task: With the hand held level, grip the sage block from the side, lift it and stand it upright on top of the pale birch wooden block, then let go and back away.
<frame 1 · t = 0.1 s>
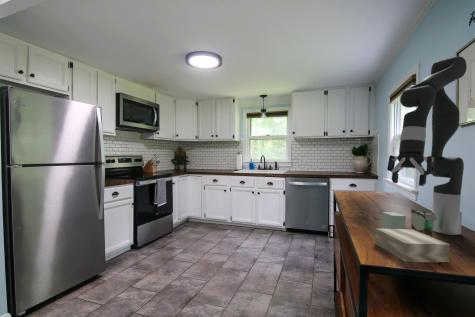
hand: (407, 184, 90), 22 cm above the table, tool pointing down, fingers open, 8 cm apart
birch block: (408, 253, 83), on the table
sage block: (392, 237, 98), on the table
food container: (425, 236, 102), on the table
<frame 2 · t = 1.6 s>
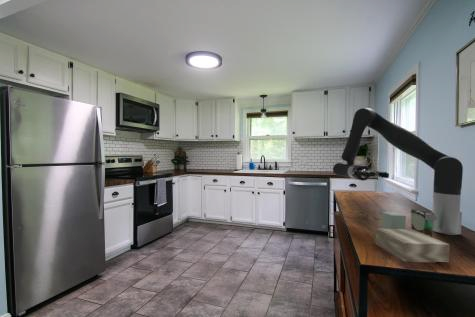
hand: (378, 175, 109), 24 cm above the table, tool horizontal, fingers open, 8 cm apart
nothing on the table moved.
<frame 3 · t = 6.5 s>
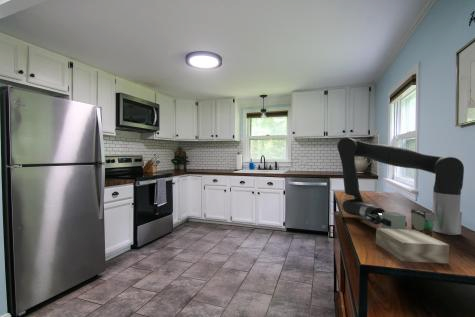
hand: (398, 224, 96), 6 cm above the table, tool horizontal, fingers closed on sage block, 5 cm apart
sage block: (392, 237, 98), on the table, touching gripper
everything else where it was.
when the fingers open (12 cm above the table, at t = 12.9 s): sage block stays where it is, point 6 cm above the table.
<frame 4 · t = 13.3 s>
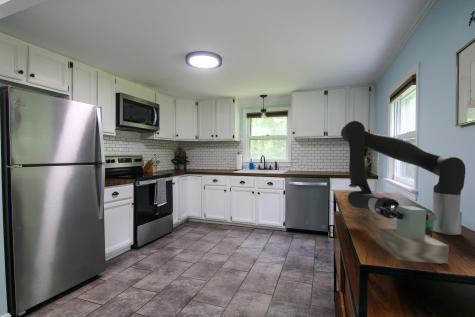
hand: (414, 216, 81), 13 cm above the table, tool horizontal, fingers open, 8 cm apart
sage block: (409, 235, 83), point 6 cm above the table
everything else where it was.
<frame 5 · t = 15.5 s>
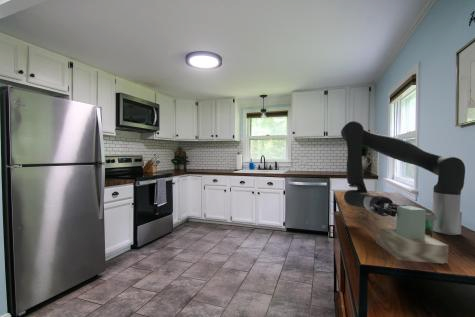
hand: (407, 214, 84), 12 cm above the table, tool horizontal, fingers open, 8 cm apart
birch block: (408, 253, 83), on the table, touching sage block
sage block: (409, 235, 83), point 6 cm above the table, touching birch block
everything else where it was.
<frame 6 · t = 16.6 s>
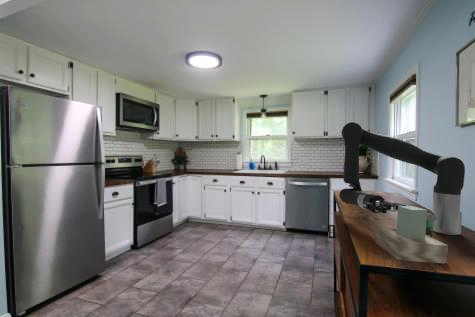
hand: (397, 211, 89), 12 cm above the table, tool horizontal, fingers open, 8 cm apart
birch block: (407, 253, 83), on the table
sage block: (410, 236, 83), point 6 cm above the table
everything else where it was.
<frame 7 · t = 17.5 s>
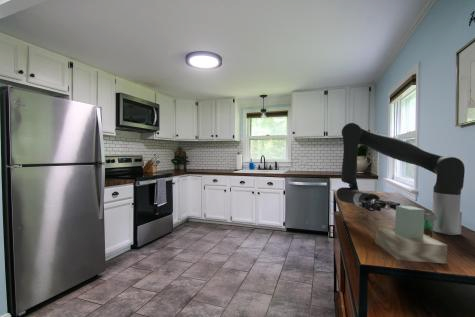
hand: (391, 208, 93), 12 cm above the table, tool horizontal, fingers open, 8 cm apart
birch block: (407, 253, 83), on the table, touching sage block
sage block: (408, 235, 83), point 6 cm above the table, touching birch block
everything else where it was.
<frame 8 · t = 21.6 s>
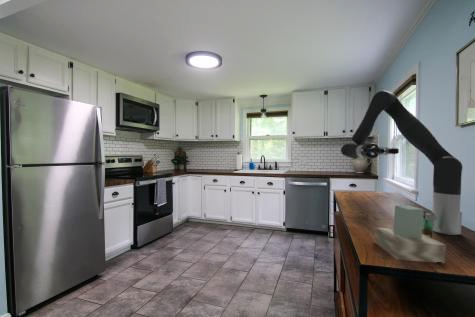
hand: (388, 150, 109), 35 cm above the table, tool horizontal, fingers open, 8 cm apart
birch block: (406, 252, 84), on the table
sage block: (407, 235, 83), point 6 cm above the table
everything else where it was.
at the end: sage block inside the target area on the birch block (0.1 cm from its centre), point 6.0 cm above the birch block's base; sage block tilted 0°; sage block touching birch block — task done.
